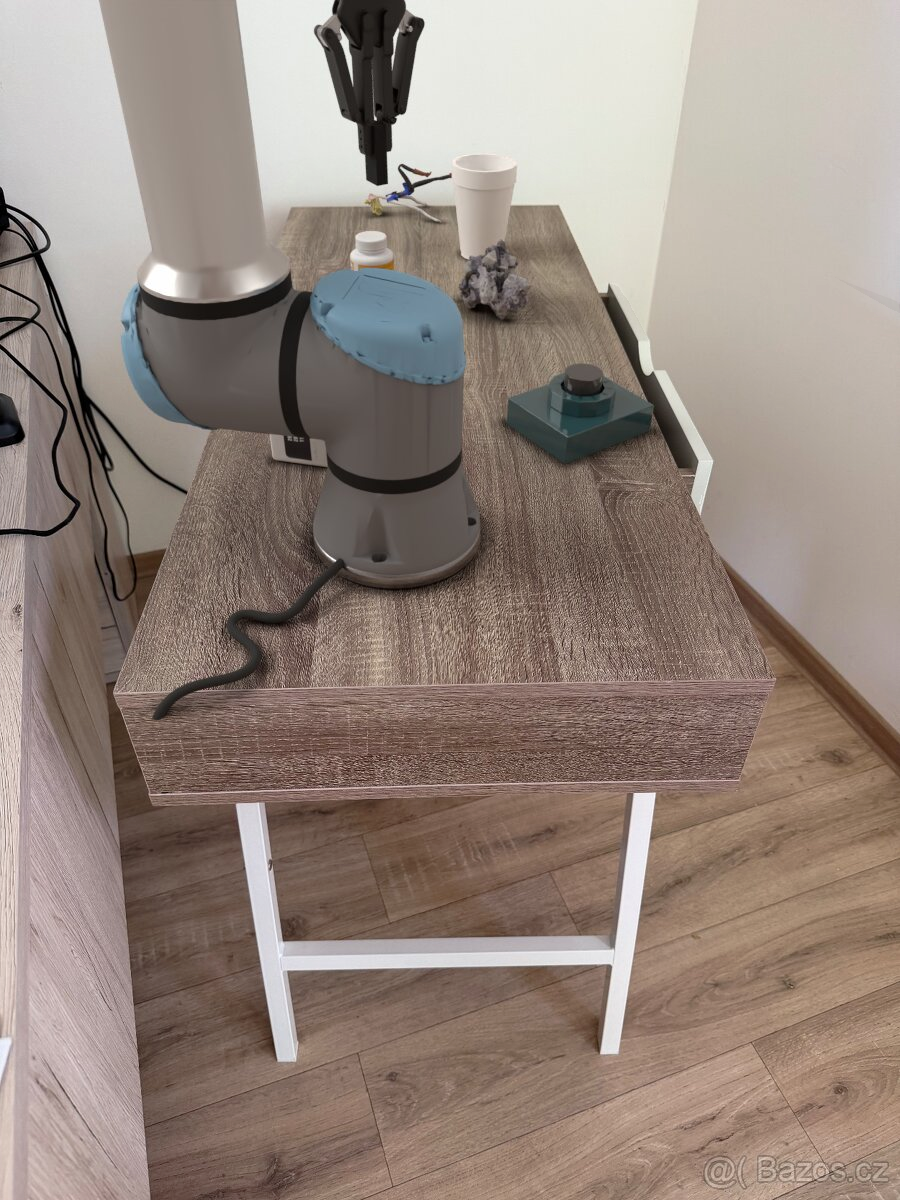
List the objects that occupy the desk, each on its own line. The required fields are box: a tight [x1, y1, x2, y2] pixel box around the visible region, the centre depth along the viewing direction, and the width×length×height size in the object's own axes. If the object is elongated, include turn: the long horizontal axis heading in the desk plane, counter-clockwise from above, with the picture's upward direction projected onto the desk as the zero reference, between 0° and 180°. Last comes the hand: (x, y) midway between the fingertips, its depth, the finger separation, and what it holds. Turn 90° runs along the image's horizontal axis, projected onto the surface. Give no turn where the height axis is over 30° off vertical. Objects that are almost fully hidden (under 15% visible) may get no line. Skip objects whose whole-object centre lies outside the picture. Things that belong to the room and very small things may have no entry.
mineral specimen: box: [457, 239, 533, 321], centre depth 122 cm, size 12×9×10 cm
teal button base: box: [506, 372, 655, 465], centre depth 99 cm, size 12×10×5 cm
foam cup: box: [451, 152, 518, 260], centre depth 135 cm, size 10×9×13 cm
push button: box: [563, 362, 604, 397], centre depth 97 cm, size 4×4×2 cm
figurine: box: [363, 163, 452, 224], centre depth 153 cm, size 10×9×20 cm
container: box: [269, 434, 327, 468], centre depth 92 cm, size 8×8×13 cm
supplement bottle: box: [349, 230, 395, 271], centre depth 119 cm, size 6×6×10 cm
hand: (377, 181), depth 111 cm, fingers closed
